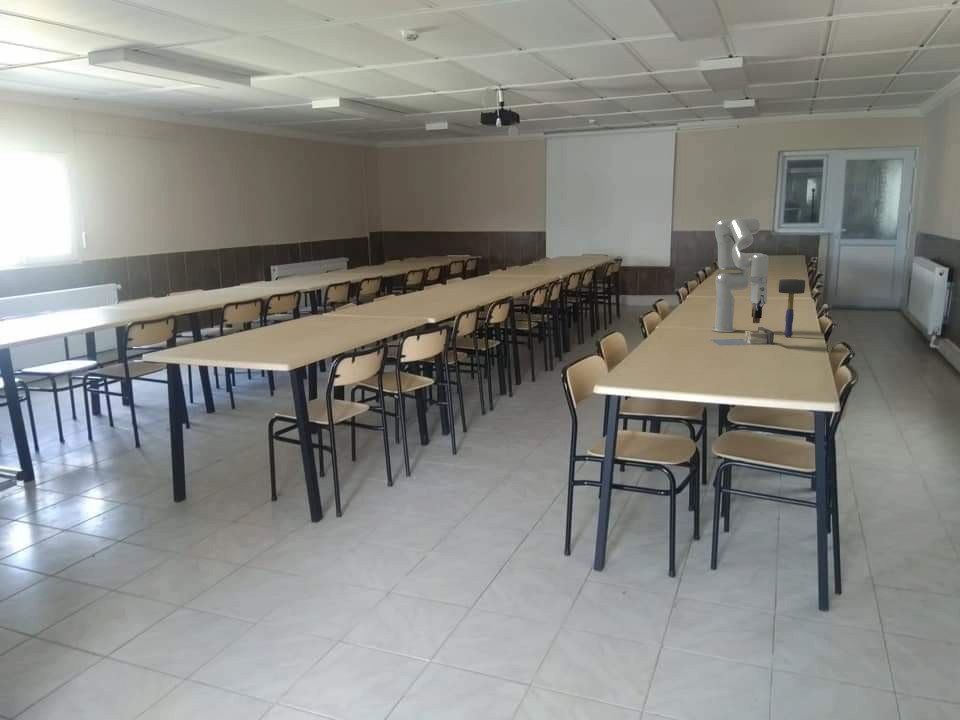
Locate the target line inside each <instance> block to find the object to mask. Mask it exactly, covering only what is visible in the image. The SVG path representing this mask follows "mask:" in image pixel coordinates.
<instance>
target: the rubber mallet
mask: <svg viewBox="0 0 960 720" xmlns="http://www.w3.org/2000/svg"><path fill="white" fill-rule="evenodd" d="M805 290H806V280H805V279H799V278H797V279H796V278H795V279H794V278H791V279H790V278H789V279H788V278H786V279H779V282H778V293H779V294H788V296H787V298H788V299H787V308H786V312H785V326H784V327H785V329H784V333H783V334H784V337H786V338H791V337H792V336H793V323H794V316H795V315H794V297H795V294H797V295H798V294H804V293H805Z"/></svg>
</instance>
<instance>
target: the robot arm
mask: <svg viewBox="0 0 960 720" xmlns="http://www.w3.org/2000/svg"><path fill="white" fill-rule="evenodd" d="M760 228H761V226H760V222H759V220H758V219H757V218H756V217H737V218H726V219H721V220H718V221H717V222H716V223H715V227H714V234H715V239H716V242H717V266H718V268H719V270H721V271H738V272H722V273H719V274H717V275H716V277H715V279H714V283H715V284H714V285H715V293H716V294H715V296H716V297H715V314H714V315H715V316H714V317H715V319H714V326H713V327H712V328H711V331H713V332H715V333H716V332H719V333H733V332H736V331H737V328H735V327H734V320H735V319H734V316H735V314H734V313H735V301H736V300H735V296H734V295H733V293H732V292H731V291H742V290H743V291H745V290H747V289H748V288H749V285H750V284H751V285H750V286H751V287H750V294H749V301H750V302H751V318H753V309H754V303H755V304H756V310H755V318H760V319H762V318H763V317H762V316H763V309H764V306H765V305H766V304H767V303H768V302H767V301H768V285H767V284H768V271H769V259H770V258H769V256H768V255H767V254H764V253H762V252H761V253H760V252H746V253H745V252H741V251H743V250H745V249H747V248H749V247H750V246H751V245H752V244H753V243H754V236H753V235H756V234H757V233H759V231H760ZM730 236H732V237H733V239H734V240H733V239H732V238H731V237H730ZM758 303H760V304H758ZM758 305H759V306H758Z"/></svg>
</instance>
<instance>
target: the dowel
mask: <svg viewBox="0 0 960 720" xmlns="http://www.w3.org/2000/svg"><path fill="white" fill-rule="evenodd" d="M758 304H760V303H758ZM758 306H759V305H758ZM755 310H756V304H755V303H754V309H753V317H752V323H753V324H760V323H761V318H755Z"/></svg>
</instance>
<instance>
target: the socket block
mask: <svg viewBox="0 0 960 720" xmlns="http://www.w3.org/2000/svg"><path fill="white" fill-rule="evenodd" d="M767 334H768V333H766V332H764V331H761V330H758V329H757V330H744V339H745V340H744V341H746V342H748V343H750V344H761V343H767Z"/></svg>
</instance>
